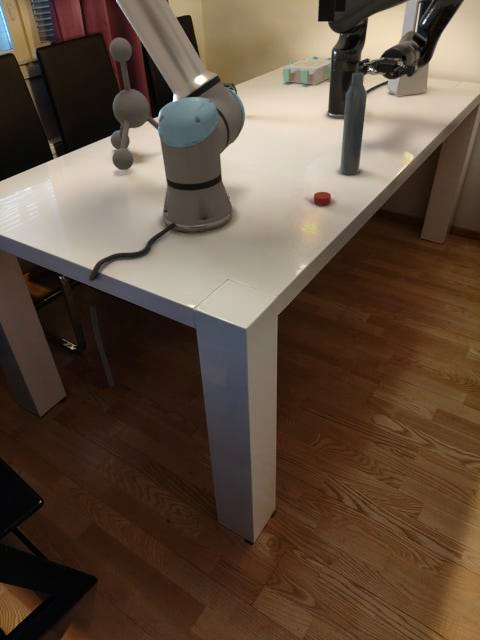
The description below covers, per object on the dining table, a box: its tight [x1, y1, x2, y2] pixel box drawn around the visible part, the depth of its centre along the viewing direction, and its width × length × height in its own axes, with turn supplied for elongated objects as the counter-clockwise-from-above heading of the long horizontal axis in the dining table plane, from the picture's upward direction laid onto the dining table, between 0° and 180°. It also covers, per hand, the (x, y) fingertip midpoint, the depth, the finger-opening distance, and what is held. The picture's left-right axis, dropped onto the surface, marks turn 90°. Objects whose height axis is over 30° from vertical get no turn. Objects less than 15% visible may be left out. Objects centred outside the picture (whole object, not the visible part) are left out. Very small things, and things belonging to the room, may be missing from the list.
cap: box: [313, 191, 332, 206], centre depth 110 cm, size 4×4×2 cm
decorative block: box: [282, 56, 331, 85], centre depth 205 cm, size 26×6×20 cm
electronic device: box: [387, 0, 433, 97], centre depth 173 cm, size 12×8×30 cm, turn 105°
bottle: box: [339, 72, 368, 176], centre depth 117 cm, size 5×5×23 cm
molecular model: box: [109, 37, 159, 171], centre depth 131 cm, size 24×22×30 cm
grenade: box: [222, 82, 238, 95], centre depth 166 cm, size 7×6×10 cm
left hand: (332, 16), depth 89 cm, fingers open, 13 cm apart
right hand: (377, 73), depth 119 cm, fingers open, 8 cm apart
